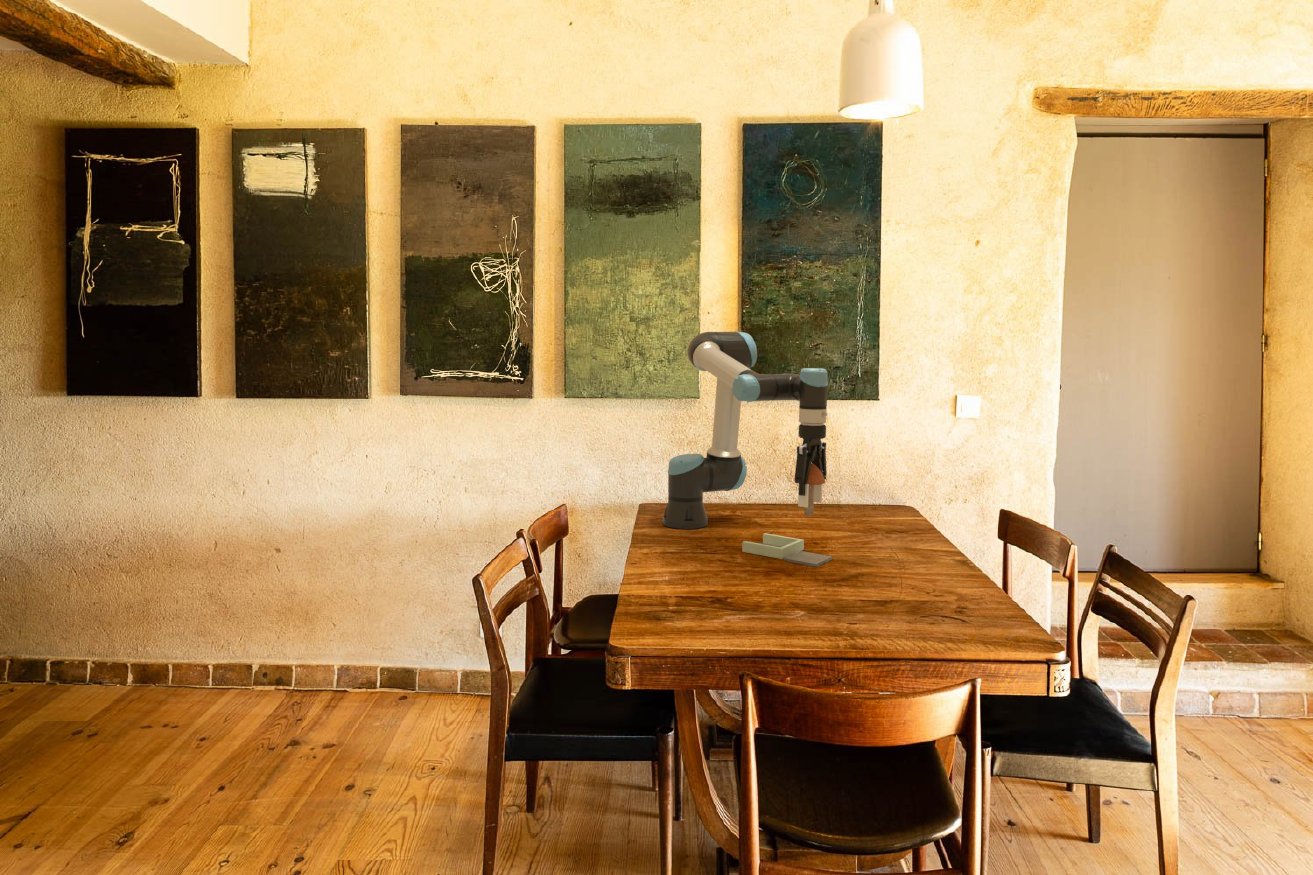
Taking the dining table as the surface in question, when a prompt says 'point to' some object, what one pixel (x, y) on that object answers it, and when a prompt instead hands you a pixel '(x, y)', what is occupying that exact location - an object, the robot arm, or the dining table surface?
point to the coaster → (808, 558)
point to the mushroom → (813, 479)
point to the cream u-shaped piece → (786, 546)
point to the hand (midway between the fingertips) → (810, 504)
